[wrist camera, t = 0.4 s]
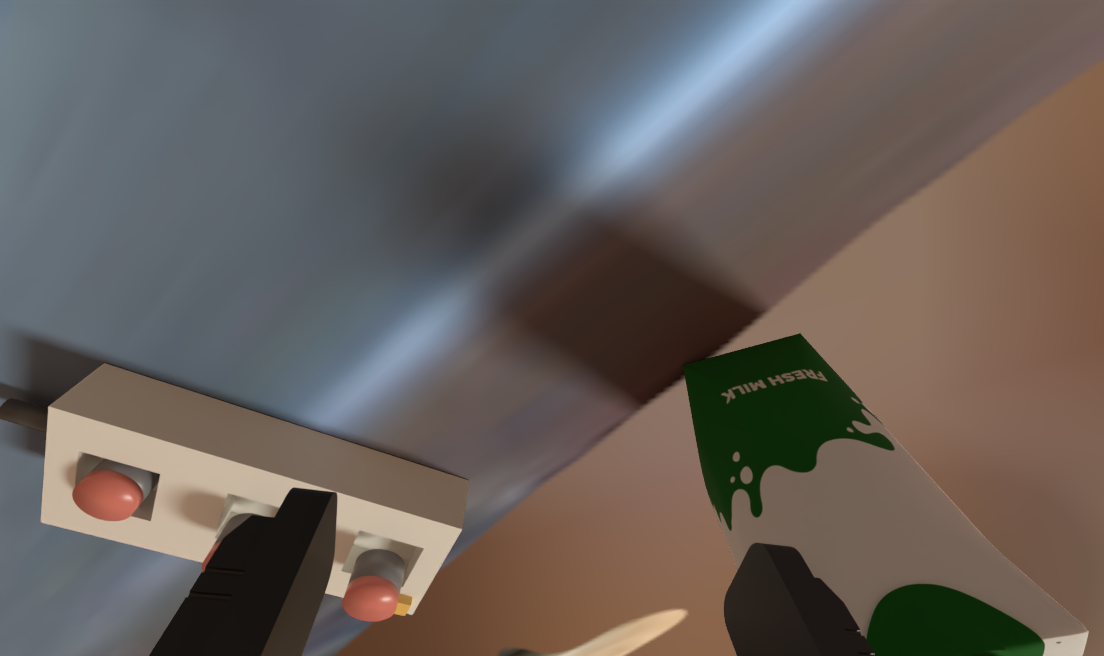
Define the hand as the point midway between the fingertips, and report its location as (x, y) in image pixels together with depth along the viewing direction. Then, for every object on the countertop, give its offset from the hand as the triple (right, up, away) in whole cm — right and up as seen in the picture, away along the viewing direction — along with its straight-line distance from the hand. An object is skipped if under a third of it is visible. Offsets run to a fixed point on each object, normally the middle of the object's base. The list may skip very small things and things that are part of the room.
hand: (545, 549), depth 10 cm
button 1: (-24, -4, +20) cm, 32 cm away
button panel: (-19, -5, +24) cm, 31 cm away
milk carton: (+12, 0, +23) cm, 26 cm away
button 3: (-10, -10, +22) cm, 27 cm away
